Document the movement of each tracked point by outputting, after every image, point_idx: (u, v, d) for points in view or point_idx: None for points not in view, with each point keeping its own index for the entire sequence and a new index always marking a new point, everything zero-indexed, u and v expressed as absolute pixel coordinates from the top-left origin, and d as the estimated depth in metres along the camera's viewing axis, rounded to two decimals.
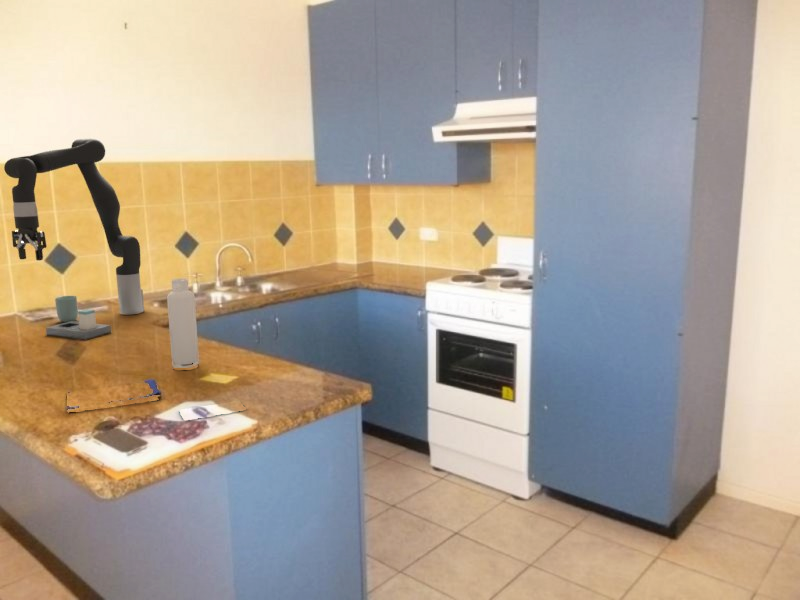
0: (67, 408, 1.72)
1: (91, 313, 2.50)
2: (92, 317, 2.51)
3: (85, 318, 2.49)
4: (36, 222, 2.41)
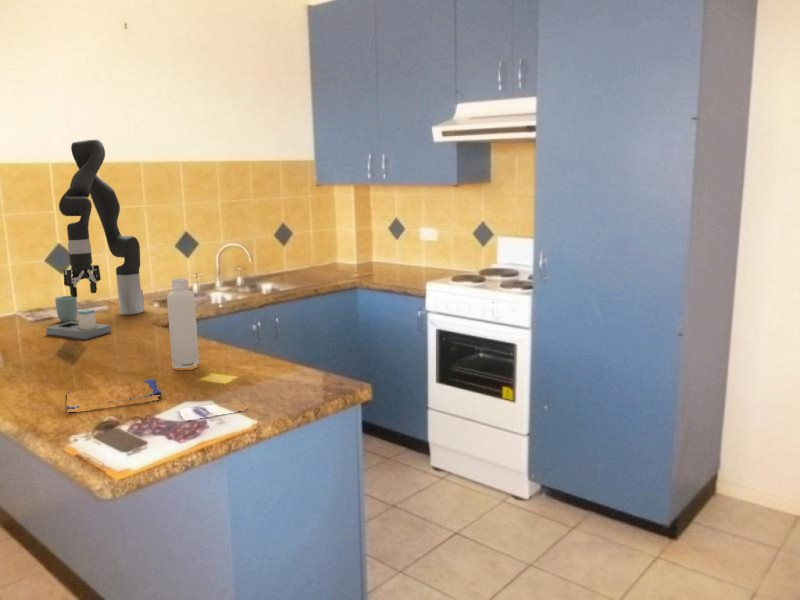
0: (67, 408, 1.72)
1: (91, 313, 2.50)
2: (92, 317, 2.51)
3: (85, 318, 2.49)
4: None
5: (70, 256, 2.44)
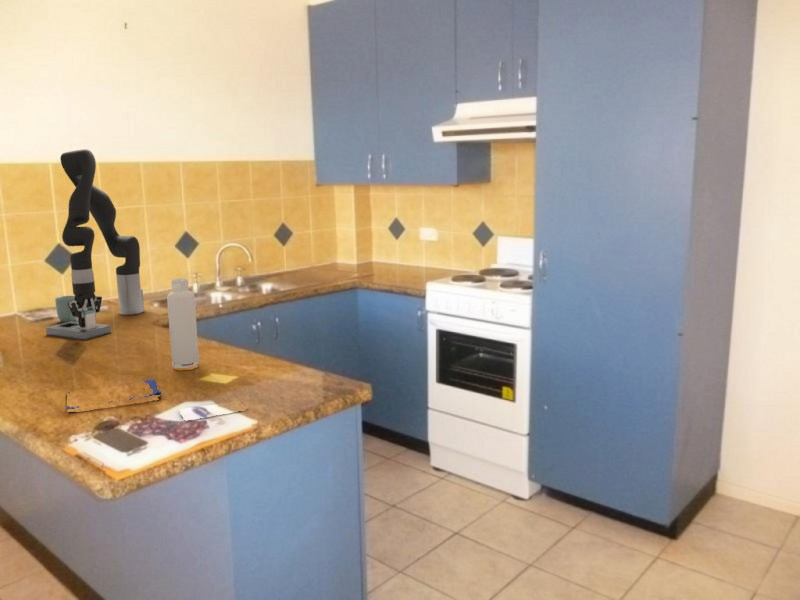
0: (67, 408, 1.72)
1: (91, 313, 2.50)
2: (92, 317, 2.51)
3: (85, 318, 2.49)
4: None
5: (73, 286, 2.46)
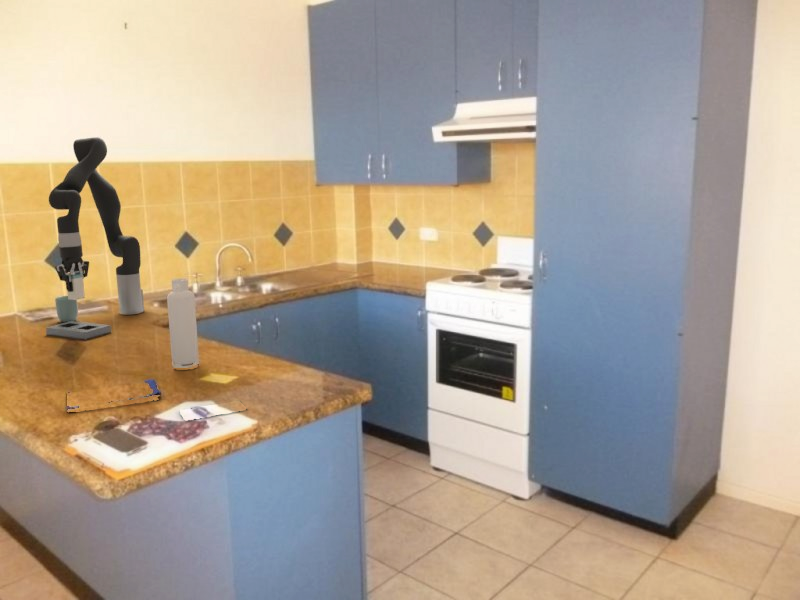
0: (67, 408, 1.72)
1: (79, 277, 2.50)
2: (80, 281, 2.51)
3: (73, 282, 2.48)
4: None
5: (61, 249, 2.45)
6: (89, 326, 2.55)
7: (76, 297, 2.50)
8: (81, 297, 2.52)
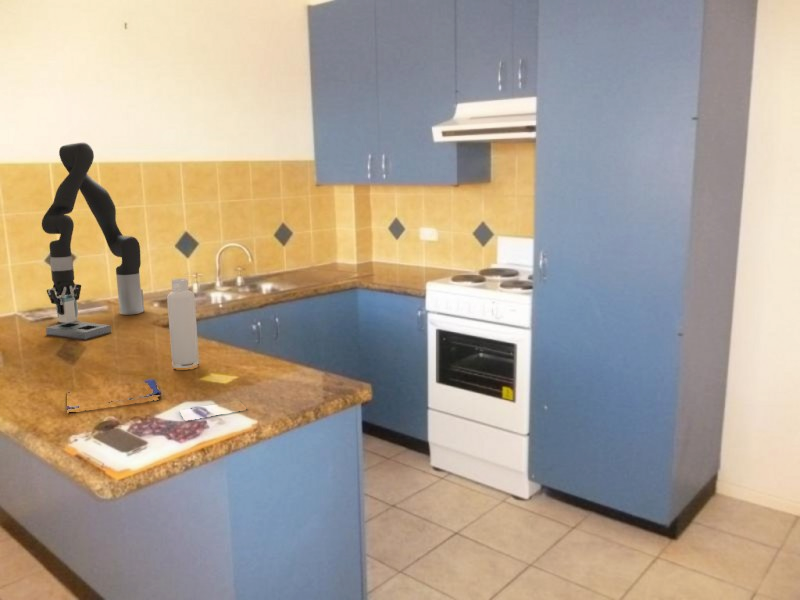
0: (67, 408, 1.72)
1: (70, 301, 2.54)
2: (71, 304, 2.54)
3: (64, 305, 2.52)
4: None
5: (52, 273, 2.49)
6: (89, 326, 2.55)
7: (67, 320, 2.53)
8: (72, 320, 2.55)
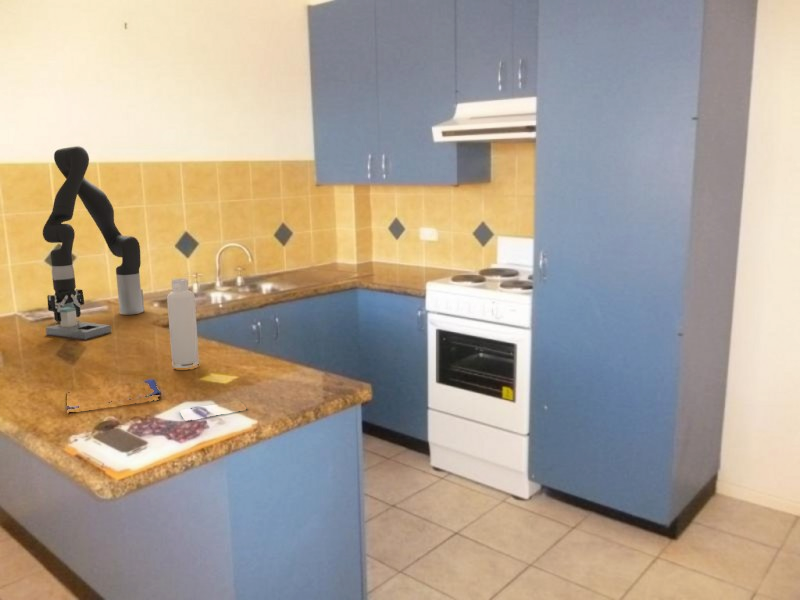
0: (67, 408, 1.72)
1: (72, 311, 2.55)
2: (73, 315, 2.55)
3: (66, 315, 2.53)
4: None
5: (54, 282, 2.49)
6: (89, 326, 2.55)
7: None
8: None
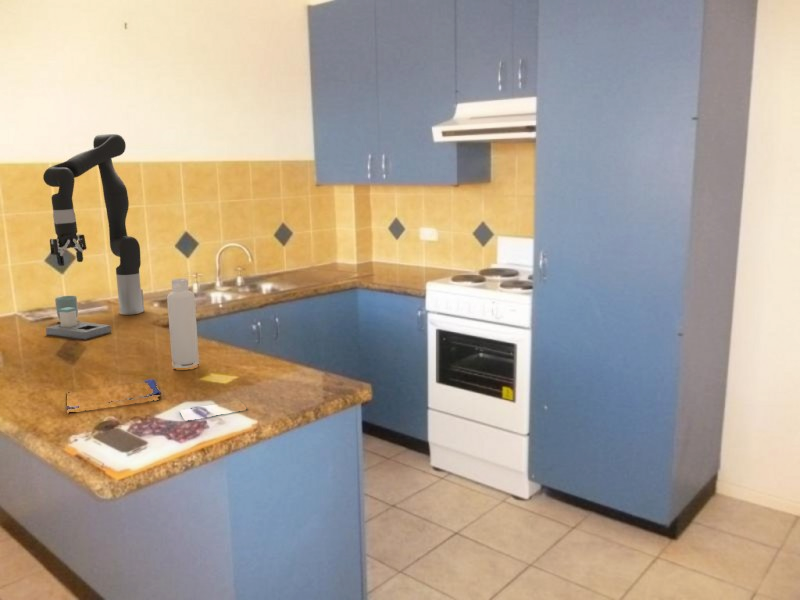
0: (67, 408, 1.72)
1: (72, 311, 2.55)
2: (73, 315, 2.55)
3: (66, 315, 2.53)
4: None
5: (55, 226, 2.51)
6: (89, 326, 2.55)
7: None
8: None
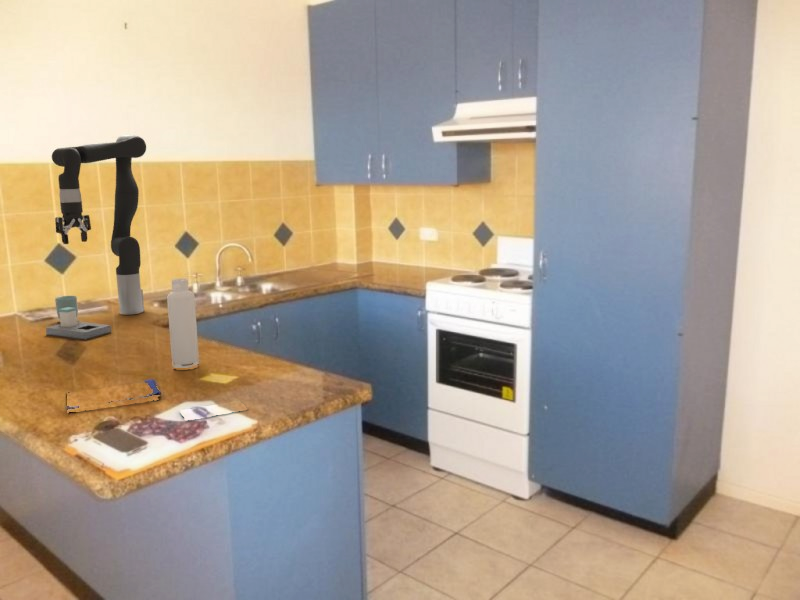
0: (67, 408, 1.72)
1: (72, 311, 2.55)
2: (73, 315, 2.55)
3: (66, 315, 2.53)
4: None
5: (61, 205, 2.56)
6: (89, 326, 2.55)
7: None
8: None
